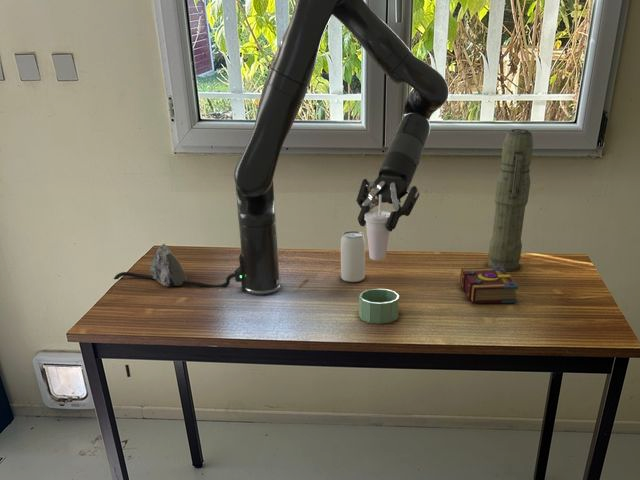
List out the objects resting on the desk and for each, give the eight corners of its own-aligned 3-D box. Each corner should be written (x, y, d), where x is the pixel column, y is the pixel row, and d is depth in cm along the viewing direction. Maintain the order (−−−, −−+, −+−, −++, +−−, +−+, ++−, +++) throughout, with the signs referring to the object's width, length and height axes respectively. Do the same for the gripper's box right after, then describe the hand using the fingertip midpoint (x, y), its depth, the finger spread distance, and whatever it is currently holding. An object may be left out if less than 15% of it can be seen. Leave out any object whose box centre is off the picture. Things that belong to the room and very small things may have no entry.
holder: (356, 321, 165) (356, 301, 163) (363, 306, 173) (363, 287, 170) (395, 324, 164) (395, 304, 161) (400, 309, 171) (401, 290, 169)
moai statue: (513, 258, 202) (531, 126, 182) (523, 272, 193) (543, 134, 173) (483, 259, 202) (497, 126, 182) (491, 273, 193) (507, 135, 173)
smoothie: (372, 263, 157) (373, 199, 149) (358, 255, 161) (359, 192, 153) (396, 259, 159) (399, 195, 151) (382, 251, 164) (384, 189, 156)
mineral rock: (153, 272, 194) (147, 235, 188) (192, 271, 195) (187, 234, 189) (145, 288, 184) (138, 250, 178) (186, 287, 184) (180, 249, 178)
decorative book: (471, 305, 173) (473, 285, 171) (457, 282, 187) (459, 264, 184) (516, 303, 174) (519, 284, 171) (499, 281, 187) (501, 262, 185)
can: (364, 282, 187) (365, 237, 180) (340, 282, 187) (340, 237, 180) (364, 274, 192) (365, 230, 185) (341, 274, 192) (340, 230, 185)
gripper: (368, 146, 156) (340, 213, 155) (426, 153, 150) (398, 222, 149) (379, 167, 163) (353, 231, 161) (434, 174, 157) (408, 241, 155)
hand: (374, 226), depth 155 cm, fingers closed on smoothie, 6 cm apart
